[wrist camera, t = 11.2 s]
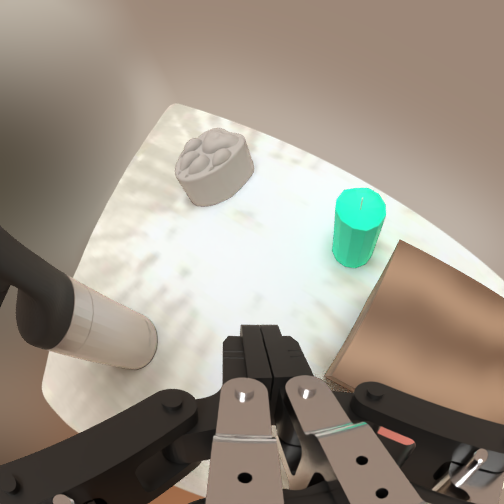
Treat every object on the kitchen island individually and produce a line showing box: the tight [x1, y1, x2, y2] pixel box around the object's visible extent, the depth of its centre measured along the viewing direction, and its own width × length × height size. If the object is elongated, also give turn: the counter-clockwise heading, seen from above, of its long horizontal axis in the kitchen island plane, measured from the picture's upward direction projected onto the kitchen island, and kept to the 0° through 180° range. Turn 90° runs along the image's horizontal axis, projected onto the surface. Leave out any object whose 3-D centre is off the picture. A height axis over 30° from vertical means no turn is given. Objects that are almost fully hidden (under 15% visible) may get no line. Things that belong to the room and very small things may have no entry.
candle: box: [332, 188, 386, 268], centre depth 32 cm, size 6×6×12 cm
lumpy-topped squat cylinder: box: [175, 128, 254, 207], centre depth 46 cm, size 10×13×9 cm
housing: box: [324, 240, 504, 425], centre depth 21 cm, size 12×20×16 cm, turn 55°
